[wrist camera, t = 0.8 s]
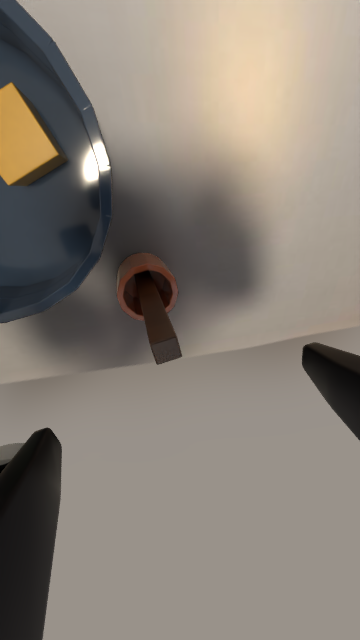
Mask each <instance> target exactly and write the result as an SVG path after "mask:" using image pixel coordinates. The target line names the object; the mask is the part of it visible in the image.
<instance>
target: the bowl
mask: <svg viewBox="0 0 360 640" xmlns="http://www.w3.org/2000/svg"><path fill="white" fill-rule="evenodd" d="M10 82H12V83H13V84H14V85H15V86H16V87H17V88H18V89H19V90H20V91H21V92H22V93H23V94H24V95H25V96H26V97H27V98H28V99H29V100H30V101H31V102H32V104H33V105H34V107H35V109H36V110H37V112H38V113H39V115H40V116H41V118H42V119H43V121H44V123H45V124H46V126H47V127H48V129H49V130H50V132H51V134H52V135H53V137H54V138H55V140H56V141H57V143H58V144H59V146H60V148H61V149H62V151H63V152H64V154H65V155H66V157H67V159H68V160H67V161H66V162H65V163H63V164H61V165H60V166H58V167H57V168H55V169H53V170H52V171H50V172H49V173H47V174H45V175H44V176H42V177H41V178H39V179H37V180H36V181H34V182H33V183H31V184H29V185H28V186H9V185H8V184H7V183H6V182H5V181H4V179H3V178H2V177H1V176H0V323H7V322H10V321H13V320H17V319H20V318H24V317H27V316H31V315H34V314H37V313H41V312H44V311H46V310H48V309H49V308H51V307H52V306H54V305H55V304H57V303H58V302H59V301H61V300H62V299H64V298H65V297H67V296H68V295H70V294H71V293H73V292H74V291H76V290H77V289H78V288H79V286H80V285H81V284H82V282H83V281H84V280H85V278H86V277H87V276H88V274H89V273H90V271H91V270H92V269H93V267H94V266H95V265H96V263H97V262H98V260H99V259H100V257H101V254H102V251H103V247H104V244H105V240H106V237H107V234H108V230H109V227H110V223H111V220H112V214H113V197H112V170H111V164H110V161H109V157H108V154H107V151H106V147H105V144H104V141H103V138H102V134H101V131H100V128H99V125H98V121H97V118H96V115H95V111H94V108H93V107H92V104H91V102H90V100H89V99H88V97H87V95H86V94H85V92H84V90H83V89H82V87H81V85H80V83H79V82H78V80H77V78H76V77H75V75H74V73H73V72H72V70H71V68H70V67H69V65H68V63H67V61H66V60H65V58H64V56H63V55H62V53H61V51H60V50H59V48H58V46H57V45H56V43H55V42H54V41H53V39H52V38H51V37H50V36H49V34H48V33H47V32H46V31H45V30H44V29H43V28H42V27H41V26H40V25H39V24H38V23H37V22H36V21H35V20H34V19H33V18H32V17H31V15H30V14H29V13H28V12H27V11H26V10H25V9H24V8H23V7H22V6H21V5H20V4H19V3H18V2H17V1H16V0H0V89H1V88H3V87H4V86H6V85H7V84H9V83H10Z"/></svg>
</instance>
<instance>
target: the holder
mask: <svg viewBox="0 0 360 640" xmlns="http://www.w3.org/2000/svg"><path fill="white" fill-rule="evenodd" d="M145 271H149V272H150V274H151V276H152V279H153V281H154V283H155V286H156V288H157V291H158V293H159V295H160V298H161V300H162V302H163V305H164V307H165V310H166V312H167V313H168V312H169V311H170V310H171V309H172V308H173V307H174V306H175V302H176V299H177V296H178V288H177V284H176V280H175V278H174V276H173V275H172V273H171V272H170V270H169V269H168V267H167V266H166V265H165V264H164V263H163V261H162V260H161V259H159V258H158V257H157V256H155V255H153V254H150V253H136V254H133V255H131V256H129V257H128V258H126V259H125V260H124V261H123V262H122V263H121V265H120V266H119V269H118V273H117V279H116V287H117V298H118V301H119V303H120V306H121V309H122V310H123V311H124V312H126V313H127V314H128V315H129V316H131V317H132V318H133V319H137V320H143V321H144V316H143V312H142V308H141V303H140V299H139V294H138V290H137V286H136V281H135V277H134V275H135V274H138V273H141V272H145Z"/></svg>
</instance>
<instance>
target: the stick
mask: <svg viewBox="0 0 360 640" xmlns="http://www.w3.org/2000/svg"><path fill="white" fill-rule="evenodd" d="M134 277H135V281H136V286H137V290H138V294H139V299H140V303H141V308H142V312H143V316H144V321H145V325H146V330H147V334H148V338H149V343H150V346H151V349H152V352H153V355H154V358H155V361H156V364H157V365H159V364H162V363H165V362H168V361H171V360H174V359H177V358H180V357H182V354H181V350H180V346H179V343H178V339H177V336H176V333H175V331H174V329H173V326H172V324H171V321H170V319H169V317H168V314H167V312H166V310H165V307H164V305H163V302H162V300H161V298H160V295H159V293H158V291H157V288H156V286H155V283H154V281H153V279H152V276H151V274H150V272H149V271H145V272H141V273H138V274H135V275H134Z"/></svg>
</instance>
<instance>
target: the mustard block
mask: <svg viewBox="0 0 360 640" xmlns="http://www.w3.org/2000/svg"><path fill="white" fill-rule="evenodd" d="M67 160H68V159H67V157H66V155H65V154H64V152H63V151H62V149H61V148H60V146H59V144H58V143H57V141H56V140H55V138H54V137H53V135H52V134H51V132H50V130H49V129H48V127H47V126H46V124H45V123H44V121H43V119H42V118H41V116H40V115H39V113H38V112H37V110H36V109H35V107H34V105H33V104H32V102H31V101H30V100H29V99H28V98H27V97H26V96H25V95H24V94H23V93H22V92H21V91H20V90H19V89H18V88H17V87H16V86H15V85H14V84H13V83H12V82H10V83H9V84H7V85H6V86H4V87H3V88H1V89H0V176H1V177H2V178H3V179H4V181H5V182H6V183H7V184H8V185H9V186H28V185H29V184H31V183H33V182H34V181H36V180H37V179H39V178H41V177H42V176H44V175H45V174H47V173H49V172H50V171H52V170H53V169H55V168H57V167H58V166H60V165H61V164H63V163H65V162H66V161H67Z"/></svg>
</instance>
